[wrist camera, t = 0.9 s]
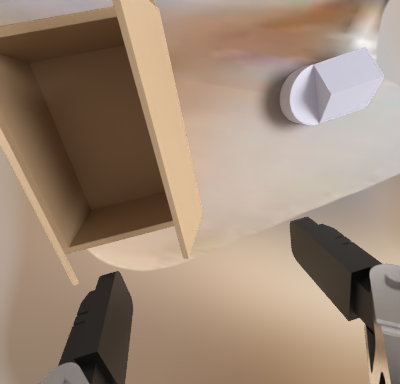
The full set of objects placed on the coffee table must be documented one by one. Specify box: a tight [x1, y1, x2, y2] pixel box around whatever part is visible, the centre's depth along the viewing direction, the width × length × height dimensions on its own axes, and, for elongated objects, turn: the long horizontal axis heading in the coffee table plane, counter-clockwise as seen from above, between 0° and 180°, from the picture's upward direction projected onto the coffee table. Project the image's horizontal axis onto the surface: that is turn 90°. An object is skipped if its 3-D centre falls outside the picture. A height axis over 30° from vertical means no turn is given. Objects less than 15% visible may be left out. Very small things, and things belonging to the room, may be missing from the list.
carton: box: [0, 0, 175, 254], centre depth 32 cm, size 24×18×12 cm
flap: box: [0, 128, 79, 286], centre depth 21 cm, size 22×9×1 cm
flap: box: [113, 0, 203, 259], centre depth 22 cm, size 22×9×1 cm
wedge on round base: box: [280, 47, 385, 125], centre depth 37 cm, size 9×7×13 cm
